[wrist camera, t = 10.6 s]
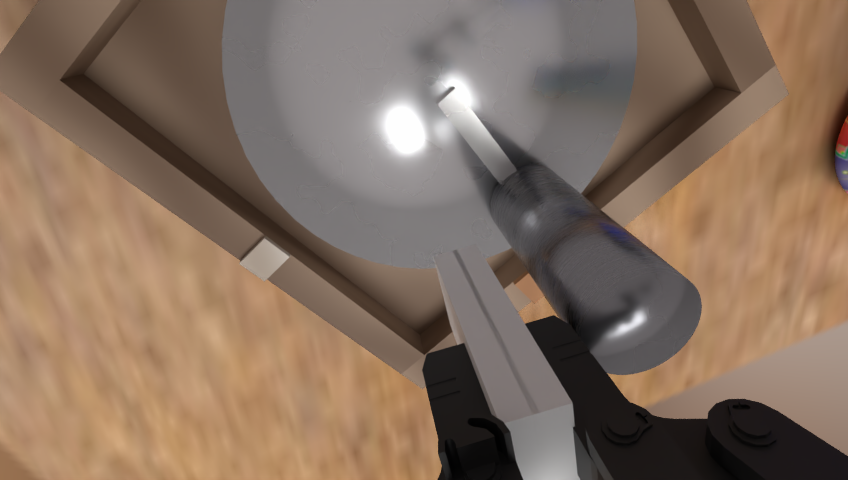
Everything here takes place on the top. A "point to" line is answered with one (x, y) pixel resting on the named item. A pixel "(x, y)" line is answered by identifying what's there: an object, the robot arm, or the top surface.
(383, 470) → the top surface
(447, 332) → the dial panel
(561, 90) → the dial
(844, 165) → the mug
